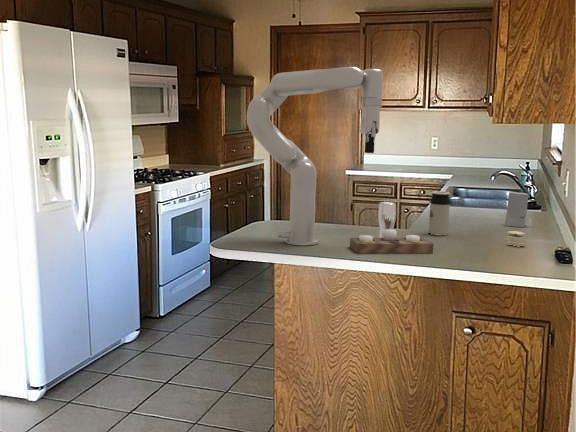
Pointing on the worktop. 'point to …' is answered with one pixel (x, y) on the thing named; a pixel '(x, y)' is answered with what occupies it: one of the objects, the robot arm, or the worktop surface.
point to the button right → (412, 238)
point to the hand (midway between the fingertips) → (369, 152)
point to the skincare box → (516, 209)
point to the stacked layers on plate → (516, 238)
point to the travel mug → (439, 213)
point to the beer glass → (386, 216)
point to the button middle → (389, 235)
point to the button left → (365, 238)
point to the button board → (391, 246)
